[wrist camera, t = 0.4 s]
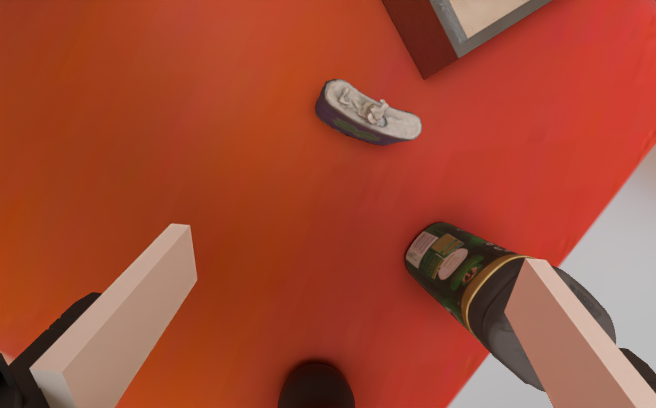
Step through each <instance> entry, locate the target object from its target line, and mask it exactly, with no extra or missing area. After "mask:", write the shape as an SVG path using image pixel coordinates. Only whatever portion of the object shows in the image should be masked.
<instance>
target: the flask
mask: <svg viewBox="0 0 656 408" xmlns="http://www.w3.org/2000/svg"><path fill="white" fill-rule="evenodd" d="M380 102H381V103H380ZM380 102H378V101H376V100H374V99H372V98H369V97H368V96H366V95H365V94H363V93H361V92H360V91H358V90H357V89H356V88H354V87H353V86H352V85H351V84H350V83H348V82H346V81H344V80H342V79H332V80H330V81H326V83H325V85H324V87H323V88H322V91H321V93H320V96H319V98H318V100H317V102H316V106H315V114H316V115H317V117H318V118H319V119H321V121H322V122H324V123H326V124H327V125H329V126H330V127H332V128H333V129H335V130H337V131H339V132H340V133H343V134H345V135H347V136H351V137H354V138H356V139H359V140H362V141H366V142H368V143H373V144H375V145H376V144H377V145H388V144H392V143H397V142H404V141H410V140H414V139H416V138H417V137H418V136H419V134H420V133H421V131H422V123H421V119H420V118H419V117H418V116H416V115H414V114H413V113H411V112H407V111H402V110H398V109H394V108H392V107H389V105H388V104H387V103H385V101H384V100H383V99H382V100H380Z"/></svg>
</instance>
